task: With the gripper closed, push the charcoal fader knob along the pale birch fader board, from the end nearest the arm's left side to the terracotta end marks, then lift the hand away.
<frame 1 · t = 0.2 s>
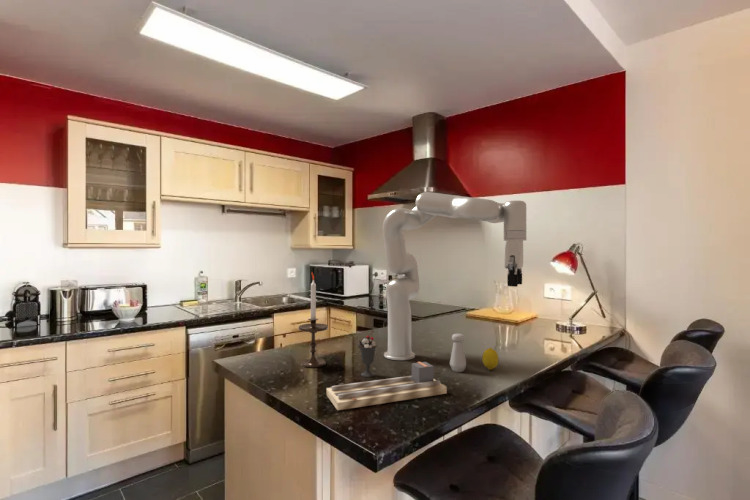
hand: (515, 285, 135), 31 cm above the counter, tool pointing down, fingers open, 9 cm apart
fader knob: (422, 372, 120), point 5 cm above the counter, slide at 0.0 cm
lemon: (490, 370, 139), on the counter
sundae: (367, 375, 133), on the counter
candlestick: (313, 364, 145), on the counter
salt shaker: (458, 370, 138), on the counter
fader board: (386, 394, 115), on the counter
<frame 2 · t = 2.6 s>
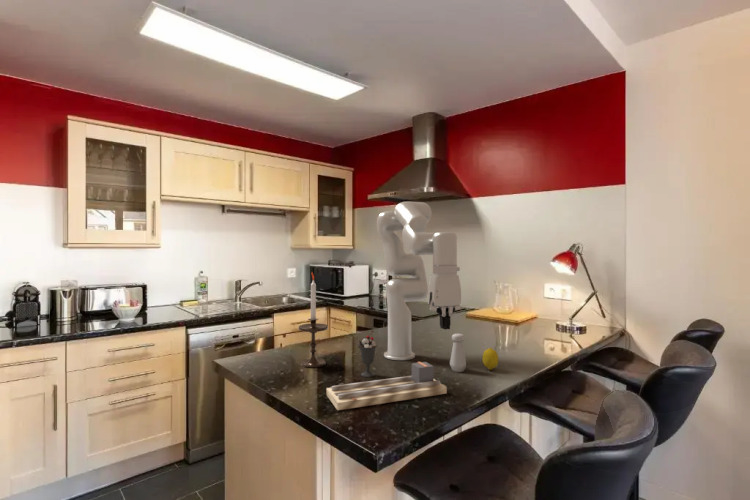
hand: (445, 328, 122), 18 cm above the counter, tool pointing down, fingers closed
nothing on the counter moved.
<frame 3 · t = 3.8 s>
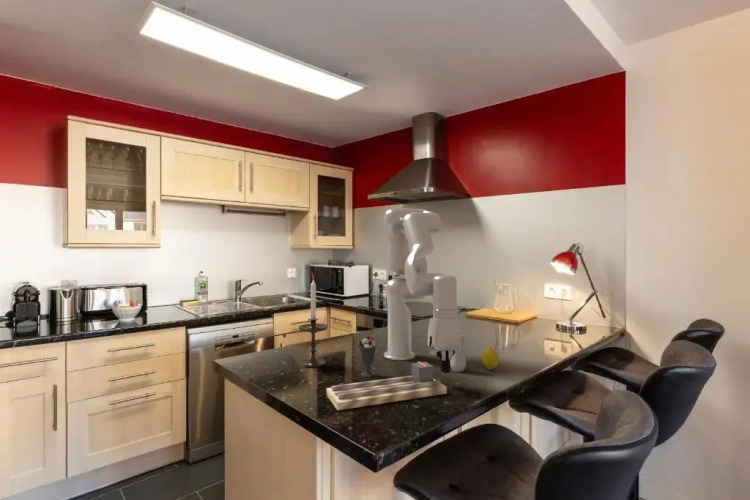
hand: (445, 371, 122), 4 cm above the counter, tool pointing down, fingers closed
nothing on the counter moved.
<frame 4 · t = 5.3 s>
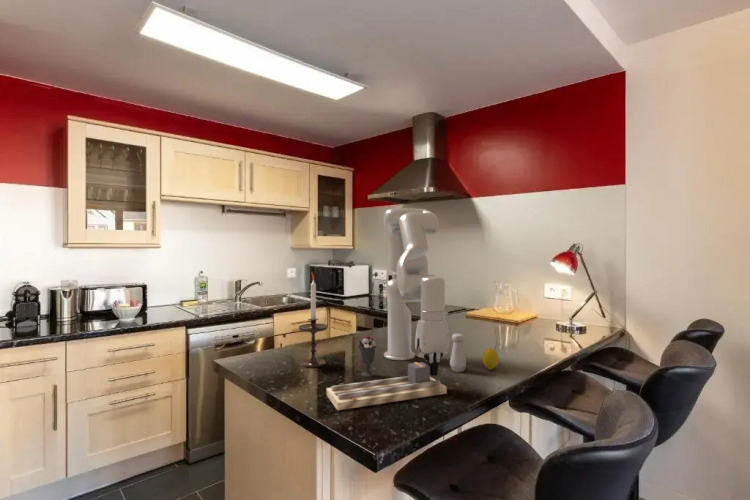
hand: (432, 374, 121), 4 cm above the counter, tool pointing down, fingers closed
fader knob: (418, 372, 119), point 5 cm above the counter, slide at 1.3 cm, touching gripper
everything else where it was.
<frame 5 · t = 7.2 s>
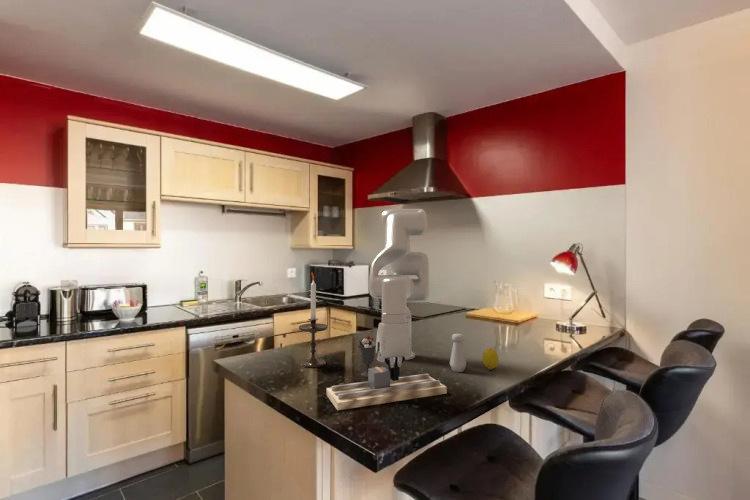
hand: (394, 379, 116), 4 cm above the counter, tool pointing down, fingers closed
fader knob: (379, 378, 114), point 5 cm above the counter, slide at 14.5 cm, touching gripper
everything else where it was.
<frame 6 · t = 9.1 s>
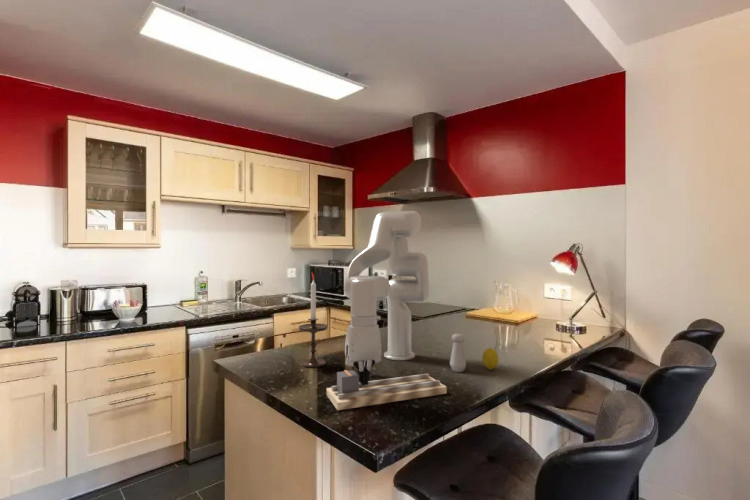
hand: (363, 383, 112), 4 cm above the counter, tool pointing down, fingers closed
fader knob: (347, 382, 111), point 5 cm above the counter, slide at 24.2 cm, touching gripper
everything else where it was.
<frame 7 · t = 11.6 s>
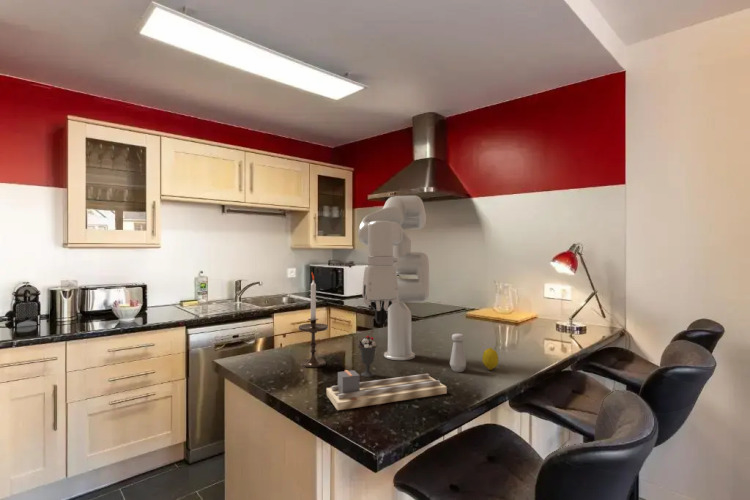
hand: (380, 323, 115), 21 cm above the counter, tool pointing down, fingers closed
fader knob: (348, 382, 111), point 5 cm above the counter, slide at 24.0 cm
everything else where it was.
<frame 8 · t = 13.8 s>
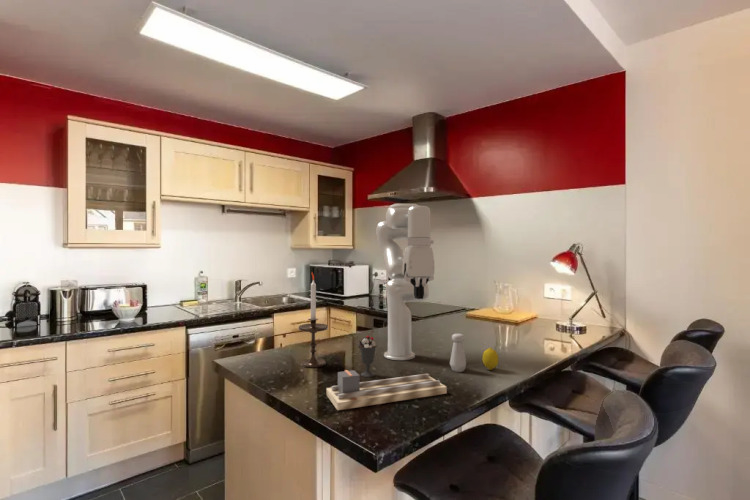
hand: (418, 298, 128), 27 cm above the counter, tool pointing down, fingers closed
nothing on the counter moved.
at the end: fader knob slide at 24.0 cm; fader knob inside the target area (0.8 cm from its centre), resting on fader board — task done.
